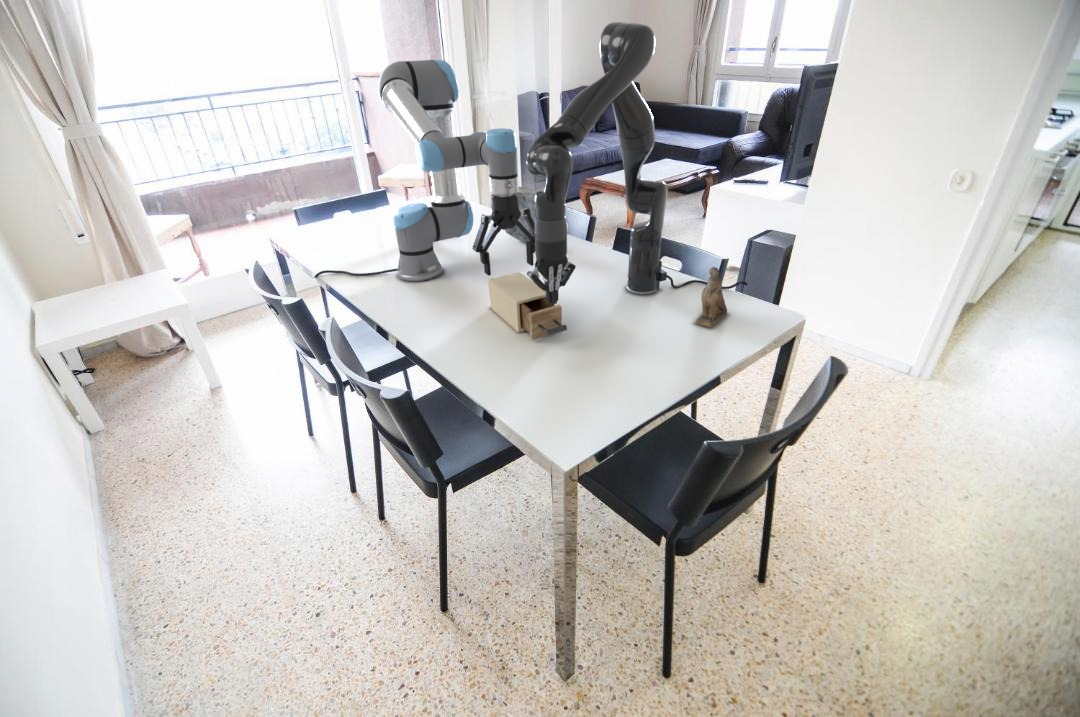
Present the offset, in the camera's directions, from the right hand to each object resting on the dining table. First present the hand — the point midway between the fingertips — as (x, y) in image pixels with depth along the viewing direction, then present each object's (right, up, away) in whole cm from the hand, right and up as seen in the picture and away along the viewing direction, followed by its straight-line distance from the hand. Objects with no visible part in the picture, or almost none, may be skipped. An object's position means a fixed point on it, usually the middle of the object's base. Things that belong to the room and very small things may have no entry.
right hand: (552, 303), depth 125 cm
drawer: (-4, -5, +12) cm, 14 cm away
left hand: (-12, +12, +18) cm, 24 cm away
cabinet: (-9, -1, +21) cm, 23 cm away
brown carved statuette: (+45, -3, +15) cm, 48 cm away
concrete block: (-7, +33, +76) cm, 83 cm away
